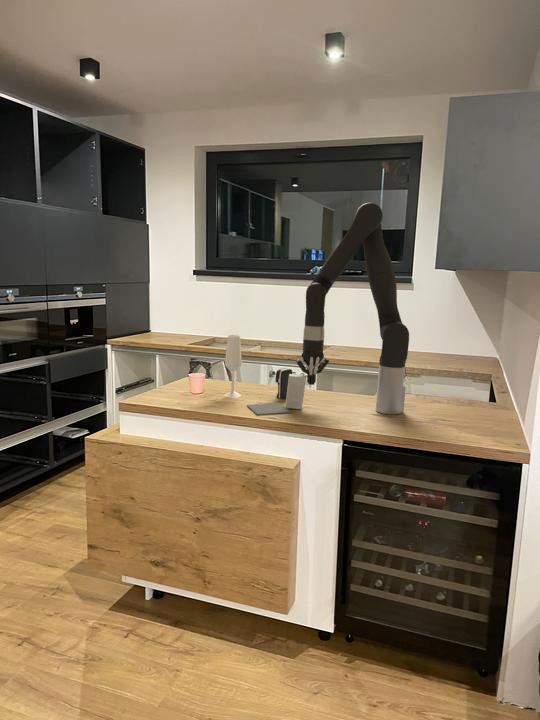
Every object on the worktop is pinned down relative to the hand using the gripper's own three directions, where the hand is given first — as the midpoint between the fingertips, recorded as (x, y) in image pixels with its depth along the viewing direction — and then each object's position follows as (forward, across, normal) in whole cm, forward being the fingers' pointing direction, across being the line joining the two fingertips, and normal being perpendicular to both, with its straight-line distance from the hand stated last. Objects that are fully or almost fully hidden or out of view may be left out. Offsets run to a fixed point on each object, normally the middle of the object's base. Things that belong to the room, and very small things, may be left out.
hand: (311, 384), depth 193 cm
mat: (+9, +16, 0) cm, 18 cm away
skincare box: (+9, +7, 0) cm, 11 cm away
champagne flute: (+9, +24, -22) cm, 33 cm away
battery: (+9, +5, -16) cm, 19 cm away
